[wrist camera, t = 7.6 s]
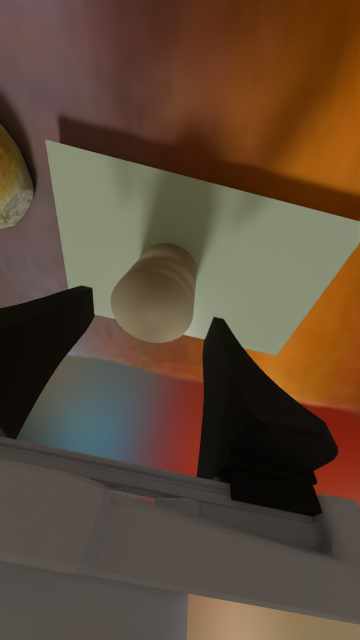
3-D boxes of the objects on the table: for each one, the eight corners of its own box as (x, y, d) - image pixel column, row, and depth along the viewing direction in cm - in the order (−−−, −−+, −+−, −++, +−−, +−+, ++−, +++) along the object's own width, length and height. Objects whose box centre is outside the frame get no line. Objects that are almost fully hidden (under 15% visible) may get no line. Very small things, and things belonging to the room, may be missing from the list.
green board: (358, 221, 14) (372, 224, 13) (272, 346, 22) (276, 355, 20) (59, 143, 13) (45, 139, 12) (79, 301, 21) (71, 308, 20)
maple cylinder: (204, 253, 15) (205, 286, 10) (187, 305, 18) (181, 350, 13) (142, 234, 15) (112, 259, 10) (135, 290, 18) (109, 331, 13)
